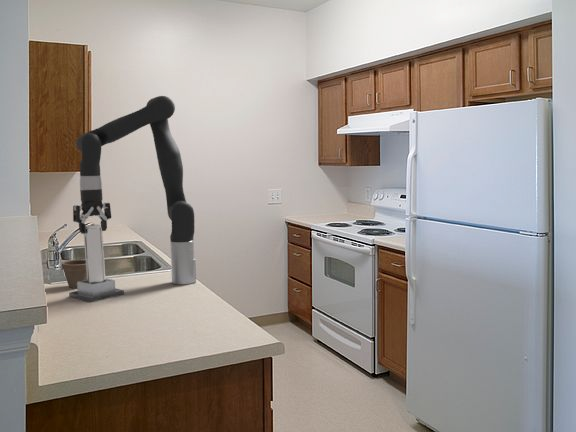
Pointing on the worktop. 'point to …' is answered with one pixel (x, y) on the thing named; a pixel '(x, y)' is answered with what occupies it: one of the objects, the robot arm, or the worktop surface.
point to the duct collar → (96, 290)
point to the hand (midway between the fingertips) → (93, 232)
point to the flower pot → (74, 271)
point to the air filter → (94, 254)
